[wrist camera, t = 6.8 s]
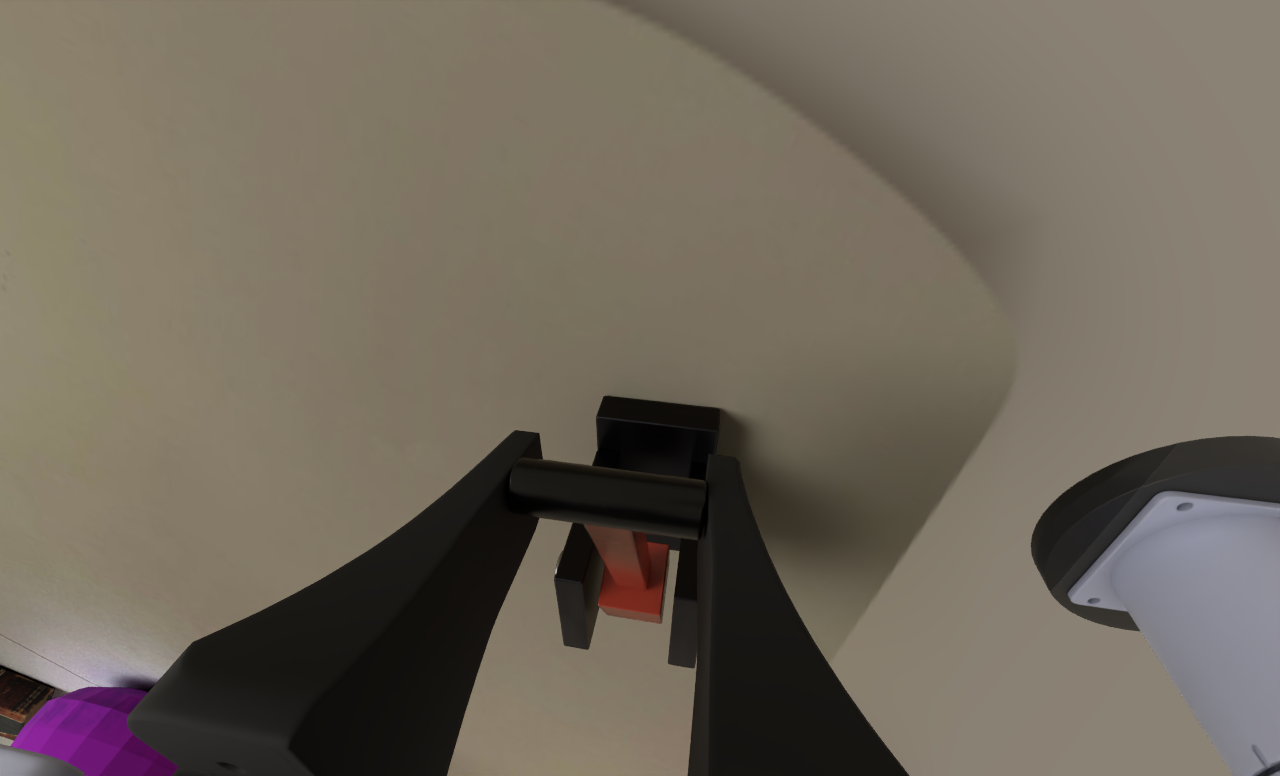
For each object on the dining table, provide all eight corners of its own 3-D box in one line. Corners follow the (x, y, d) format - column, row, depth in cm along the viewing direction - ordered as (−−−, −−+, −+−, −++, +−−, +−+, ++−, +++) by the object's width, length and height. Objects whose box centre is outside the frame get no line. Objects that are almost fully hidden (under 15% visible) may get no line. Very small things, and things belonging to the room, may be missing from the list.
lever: (523, 421, 11) (490, 533, 10) (711, 444, 10) (700, 565, 9) (595, 549, 21) (583, 611, 20) (691, 564, 21) (685, 627, 20)
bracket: (592, 393, 22) (532, 542, 16) (732, 409, 21) (727, 571, 15) (598, 515, 27) (554, 666, 21) (713, 531, 26) (704, 693, 20)
